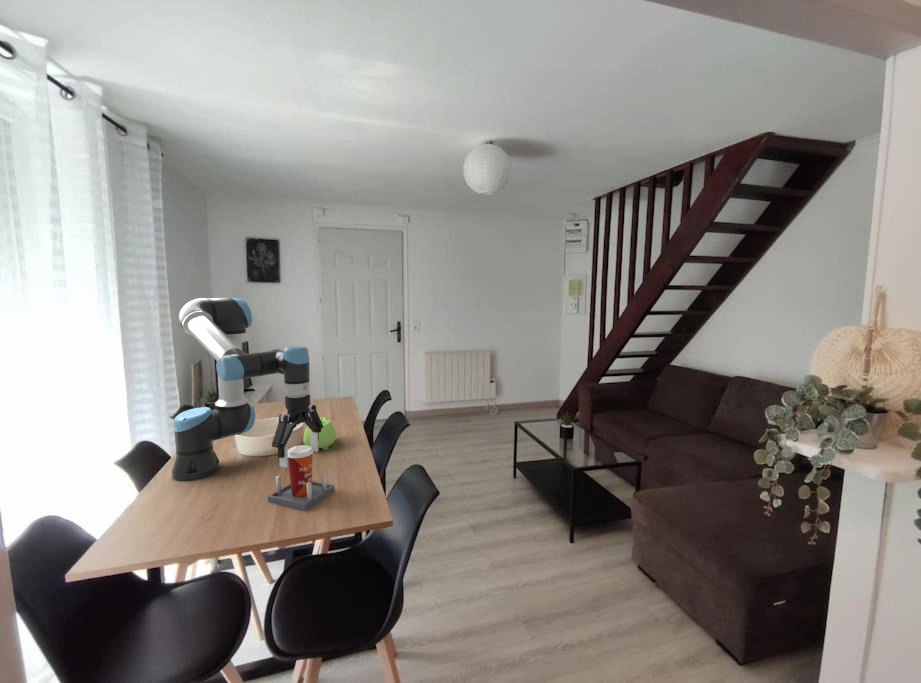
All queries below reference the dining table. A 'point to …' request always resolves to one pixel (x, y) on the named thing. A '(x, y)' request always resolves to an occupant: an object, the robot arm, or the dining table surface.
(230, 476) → the dining table surface
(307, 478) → the coffee cup
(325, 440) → the teapot
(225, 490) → the dining table surface
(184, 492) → the dining table surface
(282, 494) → the tray
